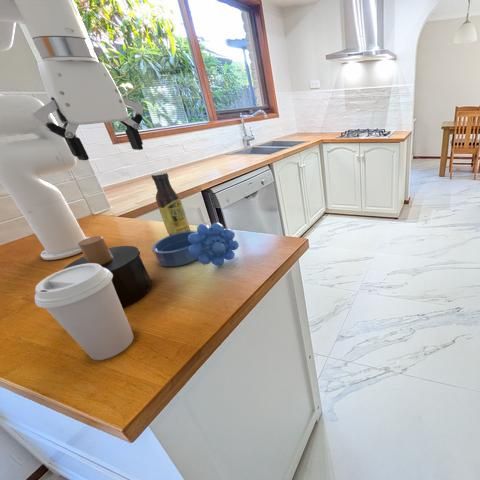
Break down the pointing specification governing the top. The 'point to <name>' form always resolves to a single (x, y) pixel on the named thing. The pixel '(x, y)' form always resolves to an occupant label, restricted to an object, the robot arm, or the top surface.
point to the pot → (131, 283)
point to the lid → (105, 254)
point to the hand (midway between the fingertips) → (112, 154)
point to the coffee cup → (87, 309)
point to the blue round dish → (174, 250)
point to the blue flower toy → (212, 244)
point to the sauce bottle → (170, 205)
